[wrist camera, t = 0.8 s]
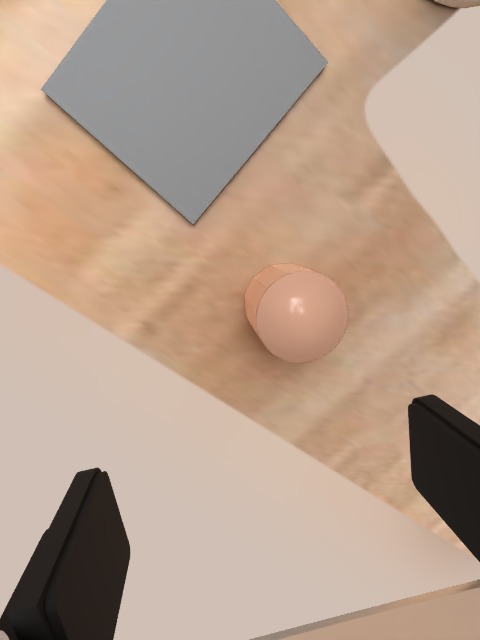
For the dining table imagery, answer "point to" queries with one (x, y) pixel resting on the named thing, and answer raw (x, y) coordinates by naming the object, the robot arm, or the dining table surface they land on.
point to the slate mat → (185, 88)
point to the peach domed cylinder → (296, 312)
